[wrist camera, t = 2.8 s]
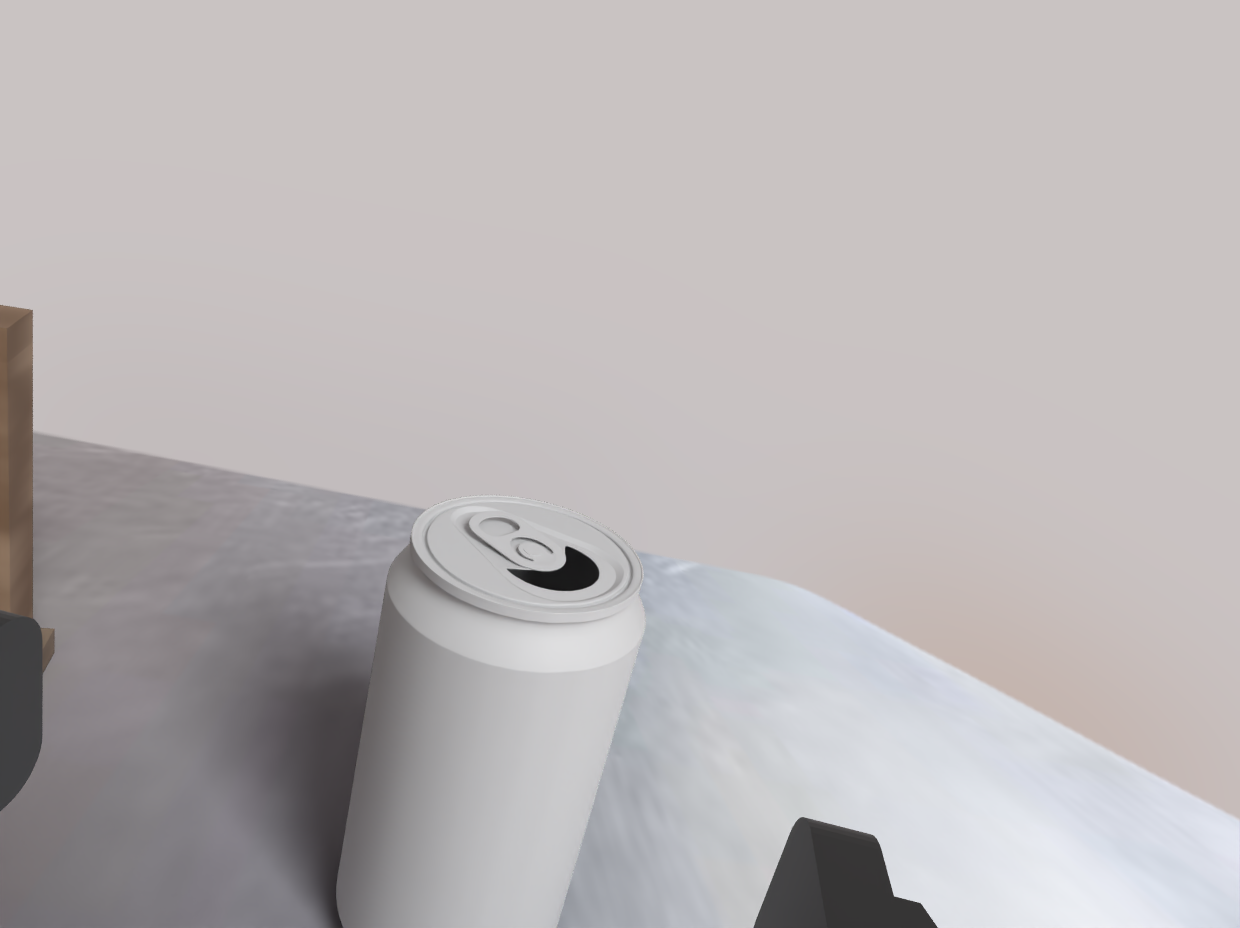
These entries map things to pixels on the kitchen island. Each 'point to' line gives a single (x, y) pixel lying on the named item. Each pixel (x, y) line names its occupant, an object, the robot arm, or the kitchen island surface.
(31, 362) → the wooden rack
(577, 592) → the beverage can
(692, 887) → the kitchen island surface
